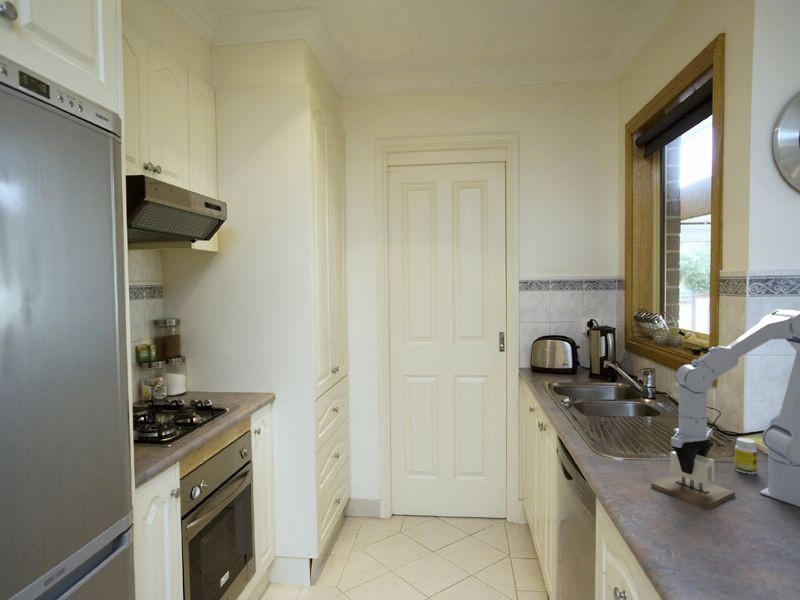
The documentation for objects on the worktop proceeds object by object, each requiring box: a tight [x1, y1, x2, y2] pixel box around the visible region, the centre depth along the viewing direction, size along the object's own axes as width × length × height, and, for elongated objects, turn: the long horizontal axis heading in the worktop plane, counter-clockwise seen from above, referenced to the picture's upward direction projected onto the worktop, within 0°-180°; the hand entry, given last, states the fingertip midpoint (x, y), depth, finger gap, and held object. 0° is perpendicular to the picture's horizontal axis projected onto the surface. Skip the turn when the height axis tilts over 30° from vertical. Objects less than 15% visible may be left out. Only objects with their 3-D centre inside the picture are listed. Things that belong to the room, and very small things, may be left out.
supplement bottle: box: [734, 437, 758, 475], centre depth 120 cm, size 5×5×8 cm
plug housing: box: [669, 450, 715, 484], centre depth 110 cm, size 8×4×5 cm, turn 29°
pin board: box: [650, 473, 736, 510], centre depth 110 cm, size 13×12×3 cm
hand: (692, 470), depth 110 cm, fingers closed on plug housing, 4 cm apart
